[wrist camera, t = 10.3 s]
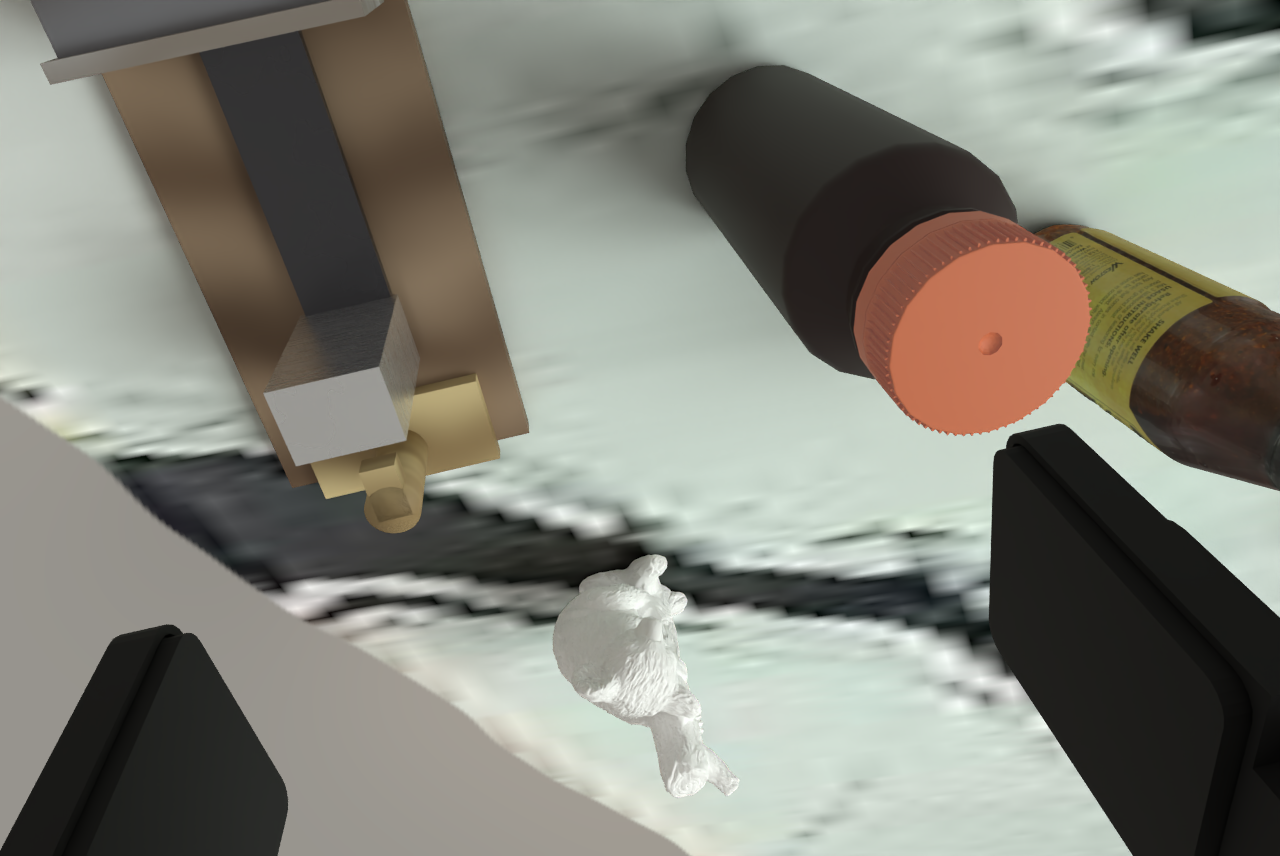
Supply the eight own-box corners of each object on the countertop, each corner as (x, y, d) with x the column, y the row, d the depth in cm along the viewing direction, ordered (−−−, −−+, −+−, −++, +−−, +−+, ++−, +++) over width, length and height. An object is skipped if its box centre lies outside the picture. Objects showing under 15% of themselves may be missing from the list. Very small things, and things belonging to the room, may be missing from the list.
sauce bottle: (981, 352, 44) (1293, 628, 27) (990, 228, 41) (1348, 450, 24) (1109, 329, 45) (1497, 586, 27) (1128, 204, 41) (1579, 405, 24)
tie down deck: (-23, -227, 29) (-151, -263, 23) (321, -298, 29) (279, -351, 23) (300, 485, 42) (270, 572, 37) (530, 431, 43) (536, 510, 37)
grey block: (191, 40, 32) (117, 70, 26) (303, 16, 32) (258, 39, 26) (327, 377, 39) (296, 466, 32) (420, 356, 39) (406, 440, 32)
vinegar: (649, 156, 37) (784, 360, 20) (768, 24, 36) (1030, 124, 18) (758, 260, 40) (958, 518, 23) (873, 144, 38) (1186, 327, 21)
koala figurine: (724, 587, 49) (786, 766, 39) (637, 661, 51) (674, 852, 40) (612, 503, 45) (647, 676, 35) (522, 587, 47) (531, 776, 37)
